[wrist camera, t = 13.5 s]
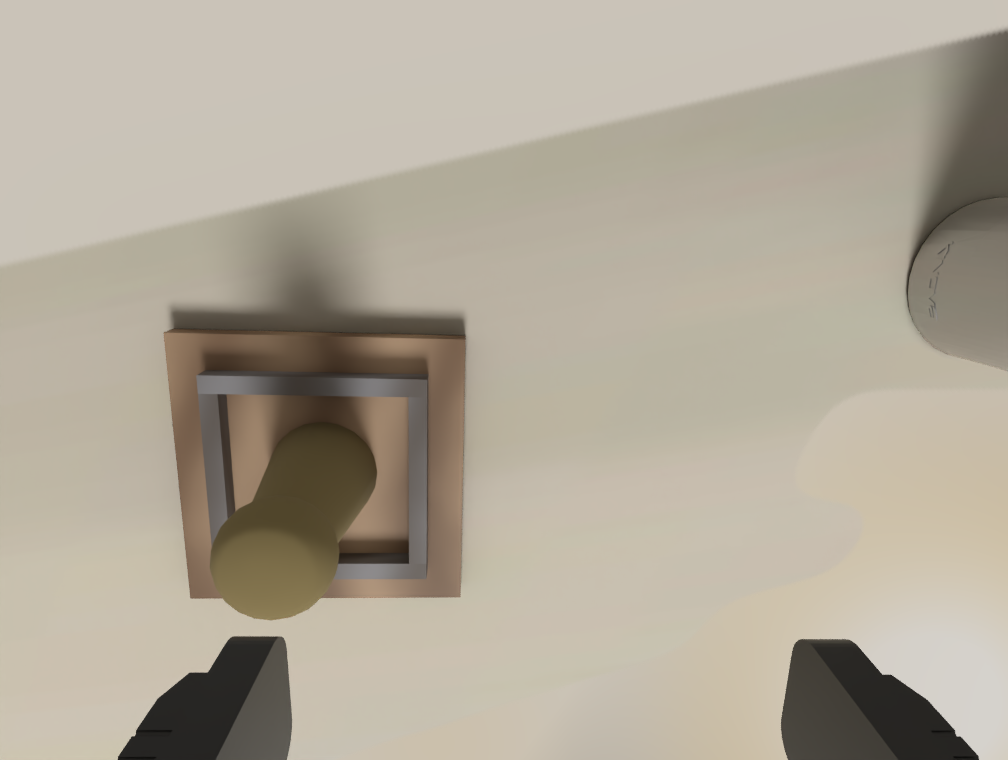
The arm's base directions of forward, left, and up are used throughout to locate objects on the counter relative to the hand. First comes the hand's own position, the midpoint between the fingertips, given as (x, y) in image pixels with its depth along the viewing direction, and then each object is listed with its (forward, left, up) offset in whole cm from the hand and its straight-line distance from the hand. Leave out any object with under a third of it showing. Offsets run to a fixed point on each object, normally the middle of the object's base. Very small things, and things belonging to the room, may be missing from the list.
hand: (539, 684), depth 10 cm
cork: (+9, +7, -26) cm, 28 cm away
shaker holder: (+9, +7, -27) cm, 29 cm away
